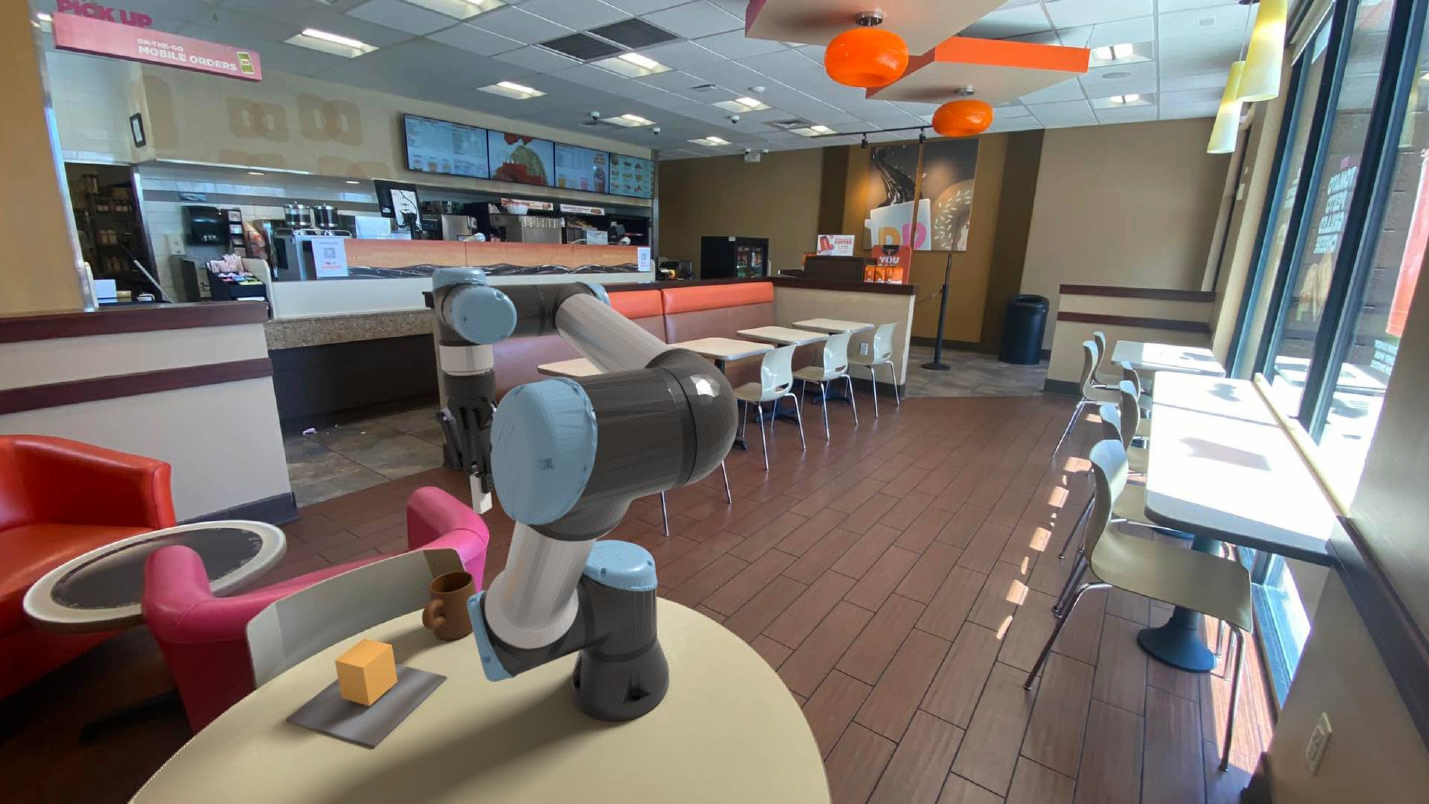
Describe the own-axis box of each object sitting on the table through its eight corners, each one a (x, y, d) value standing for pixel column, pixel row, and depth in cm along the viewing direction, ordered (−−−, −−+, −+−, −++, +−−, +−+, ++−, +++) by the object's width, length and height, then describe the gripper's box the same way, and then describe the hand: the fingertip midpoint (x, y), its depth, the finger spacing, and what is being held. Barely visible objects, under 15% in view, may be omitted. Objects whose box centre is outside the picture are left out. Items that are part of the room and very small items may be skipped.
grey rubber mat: (446, 678, 94) (441, 638, 92) (374, 748, 81) (366, 703, 79) (367, 658, 98) (360, 619, 96) (286, 721, 85) (276, 677, 83)
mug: (450, 660, 98) (444, 611, 95) (408, 656, 99) (401, 607, 96) (487, 617, 109) (482, 571, 107) (449, 613, 110) (443, 568, 108)
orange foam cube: (369, 705, 86) (363, 667, 84) (341, 698, 88) (334, 660, 86) (397, 681, 91) (391, 644, 89) (370, 674, 92) (364, 638, 91)
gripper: (519, 368, 93) (530, 505, 99) (450, 363, 96) (465, 496, 102) (489, 378, 86) (502, 525, 92) (415, 372, 89) (433, 514, 96)
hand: (482, 509), depth 97 cm, fingers closed
